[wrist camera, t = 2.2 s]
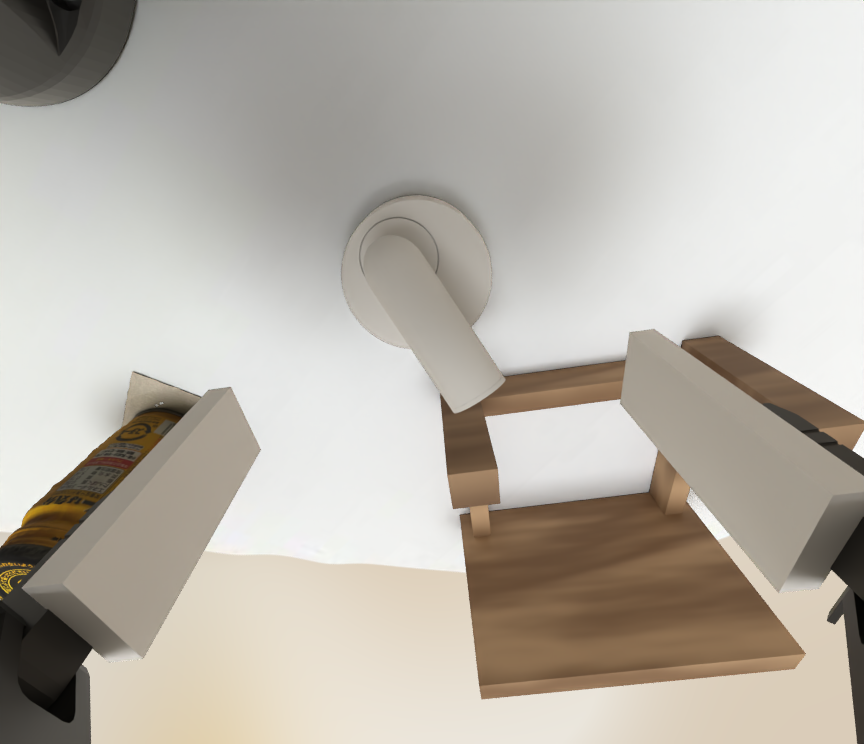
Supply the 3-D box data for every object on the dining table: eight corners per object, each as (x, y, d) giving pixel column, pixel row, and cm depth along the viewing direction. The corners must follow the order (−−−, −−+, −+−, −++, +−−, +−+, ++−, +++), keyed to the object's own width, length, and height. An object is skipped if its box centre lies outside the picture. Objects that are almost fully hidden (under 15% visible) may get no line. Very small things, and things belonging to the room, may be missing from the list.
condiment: (118, 450, 30) (-45, 607, 19) (134, 370, 26) (-55, 508, 16) (211, 481, 32) (109, 638, 21) (237, 410, 28) (131, 557, 18)
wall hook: (418, 462, 19) (261, 312, 14) (418, 369, 27) (319, 256, 23) (573, 372, 16) (440, 160, 12) (521, 300, 24) (431, 160, 20)
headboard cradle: (438, 373, 27) (452, 527, 16) (718, 335, 26) (946, 469, 15) (461, 528, 36) (481, 699, 24) (672, 504, 35) (794, 668, 24)
